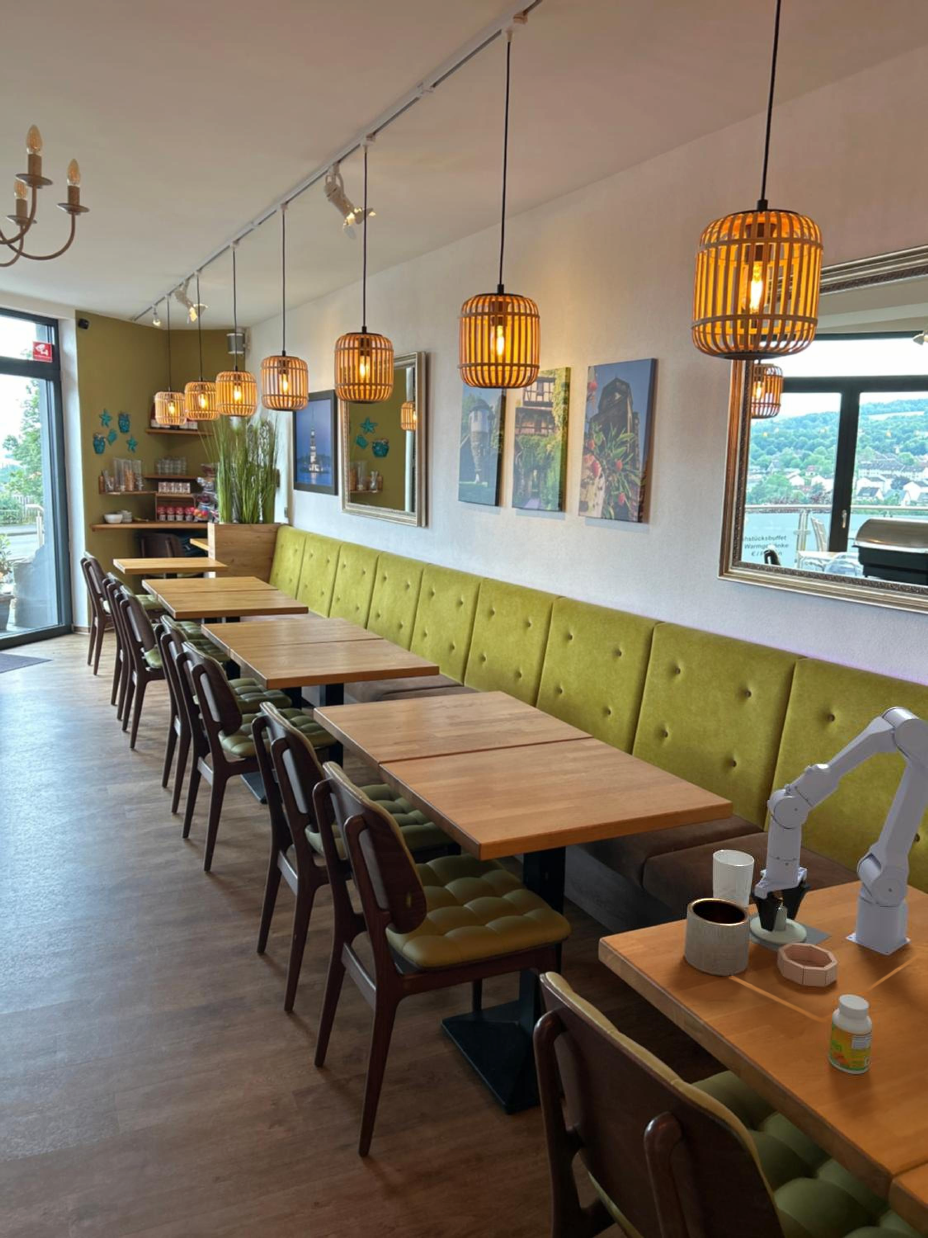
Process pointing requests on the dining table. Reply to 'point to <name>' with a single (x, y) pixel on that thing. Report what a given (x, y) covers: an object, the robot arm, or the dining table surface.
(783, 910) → the lid
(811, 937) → the mat
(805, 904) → the dining table surface
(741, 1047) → the dining table surface
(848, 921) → the dining table surface
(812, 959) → the bowl
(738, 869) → the white cup
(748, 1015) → the dining table surface
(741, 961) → the planter
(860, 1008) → the supplement bottle
